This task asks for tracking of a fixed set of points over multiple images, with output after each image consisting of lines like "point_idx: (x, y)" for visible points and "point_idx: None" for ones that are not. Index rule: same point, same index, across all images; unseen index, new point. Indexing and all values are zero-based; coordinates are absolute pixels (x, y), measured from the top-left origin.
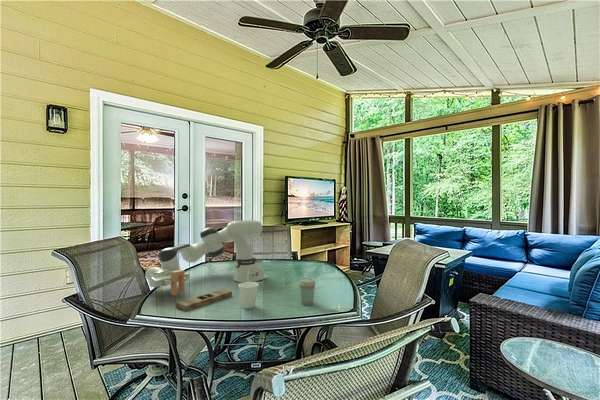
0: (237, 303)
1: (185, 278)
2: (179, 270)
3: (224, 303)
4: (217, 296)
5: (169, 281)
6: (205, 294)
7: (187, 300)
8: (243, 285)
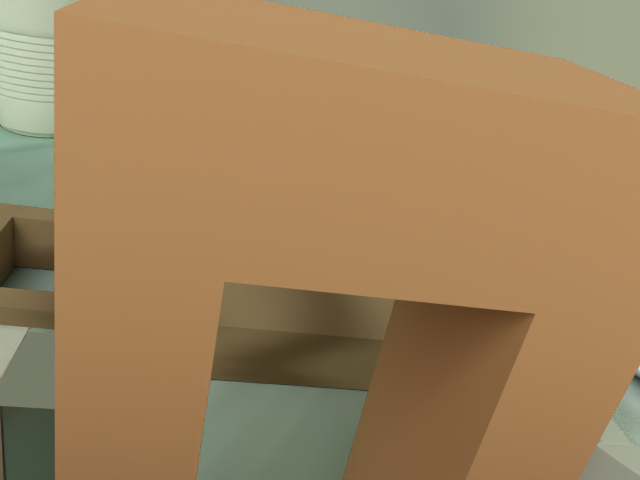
0: (6, 162)
1: (13, 333)
2: (277, 26)
3: (51, 204)
4: (10, 208)
5: (608, 435)
6: (7, 294)
7: (313, 309)
8: None
